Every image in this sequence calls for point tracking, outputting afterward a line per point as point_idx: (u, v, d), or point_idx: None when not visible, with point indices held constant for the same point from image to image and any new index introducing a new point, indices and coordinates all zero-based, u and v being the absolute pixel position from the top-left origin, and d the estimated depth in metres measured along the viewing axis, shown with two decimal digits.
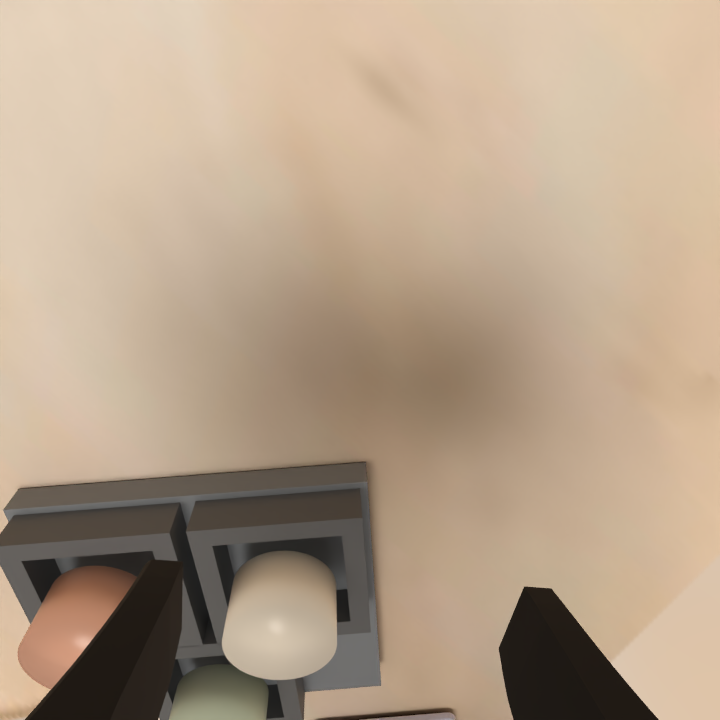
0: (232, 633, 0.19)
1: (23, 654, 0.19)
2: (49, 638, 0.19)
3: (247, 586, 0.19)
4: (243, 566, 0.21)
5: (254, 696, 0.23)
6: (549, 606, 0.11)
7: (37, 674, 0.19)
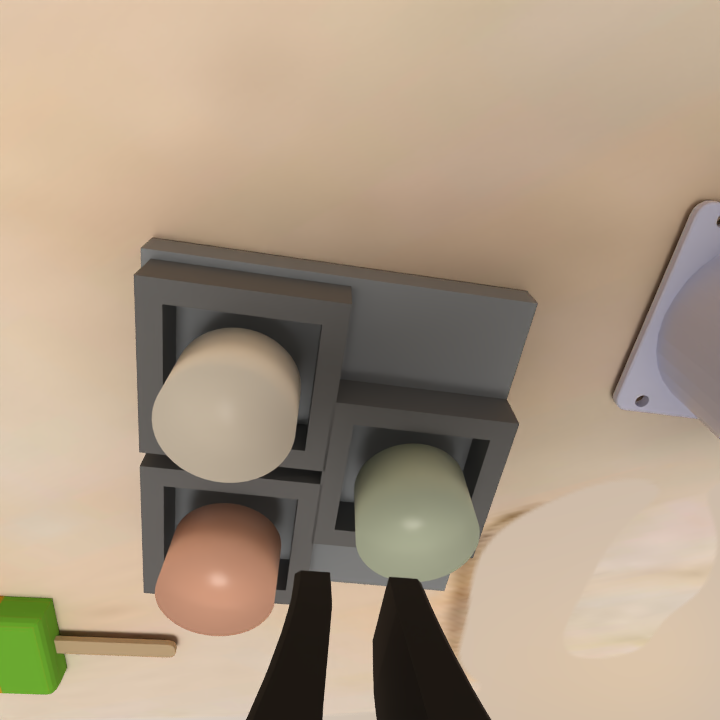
0: (194, 466, 0.16)
1: (196, 629, 0.19)
2: (176, 606, 0.19)
3: None
4: None
5: (390, 465, 0.18)
6: (407, 596, 0.11)
7: (228, 629, 0.19)
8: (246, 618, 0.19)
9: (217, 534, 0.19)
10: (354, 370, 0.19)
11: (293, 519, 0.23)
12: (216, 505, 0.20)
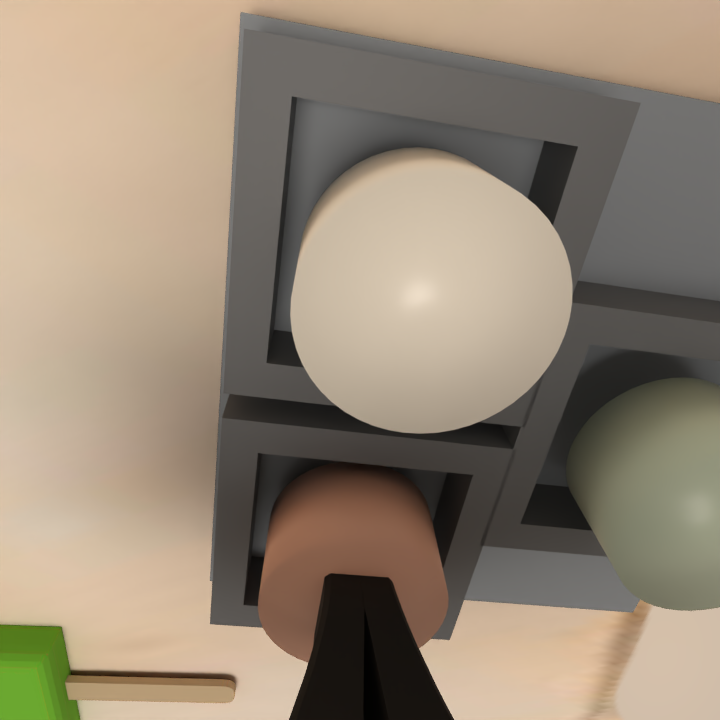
0: (360, 401, 0.08)
1: None
2: (289, 623, 0.12)
3: None
4: None
5: (663, 411, 0.11)
6: (376, 594, 0.11)
7: None
8: None
9: (359, 507, 0.11)
10: None
11: (434, 509, 0.15)
12: (342, 464, 0.13)
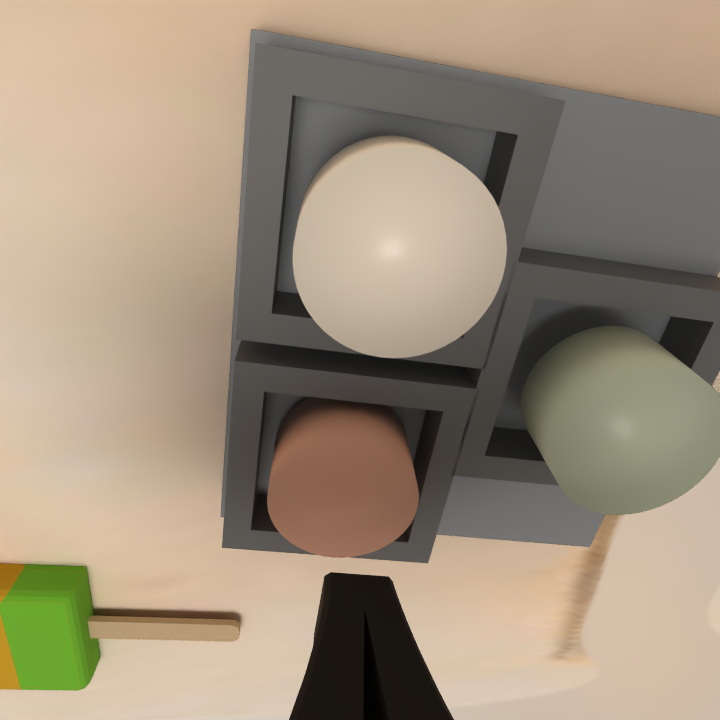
0: (346, 331, 0.11)
1: (313, 548, 0.15)
2: (291, 515, 0.15)
3: None
4: None
5: (593, 349, 0.13)
6: (376, 594, 0.11)
7: (353, 548, 0.15)
8: (378, 532, 0.15)
9: (347, 421, 0.14)
10: None
11: (414, 450, 0.17)
12: None
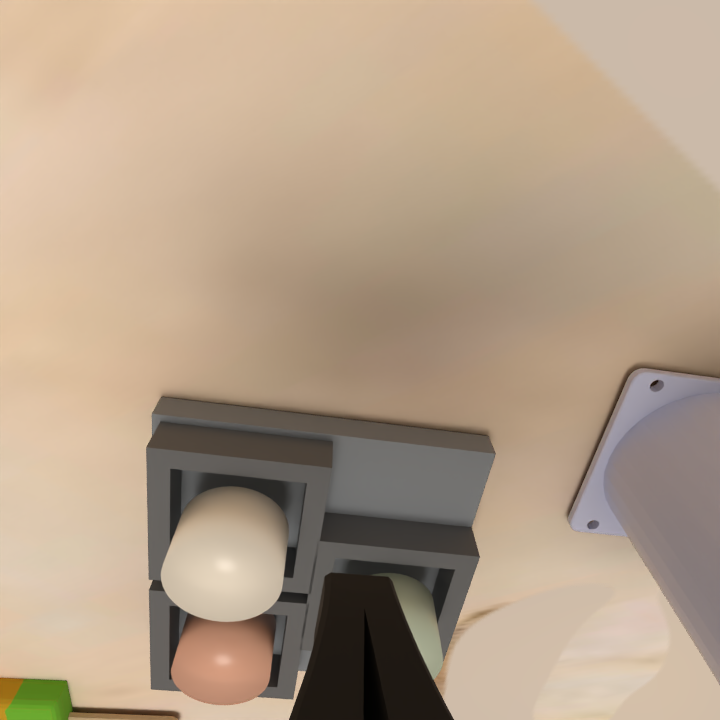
0: (196, 610, 0.19)
1: (205, 699, 0.23)
2: (188, 682, 0.23)
3: None
4: None
5: None
6: (376, 594, 0.11)
7: (231, 699, 0.23)
8: (246, 691, 0.23)
9: (223, 624, 0.22)
10: (337, 505, 0.22)
11: (284, 622, 0.25)
12: None
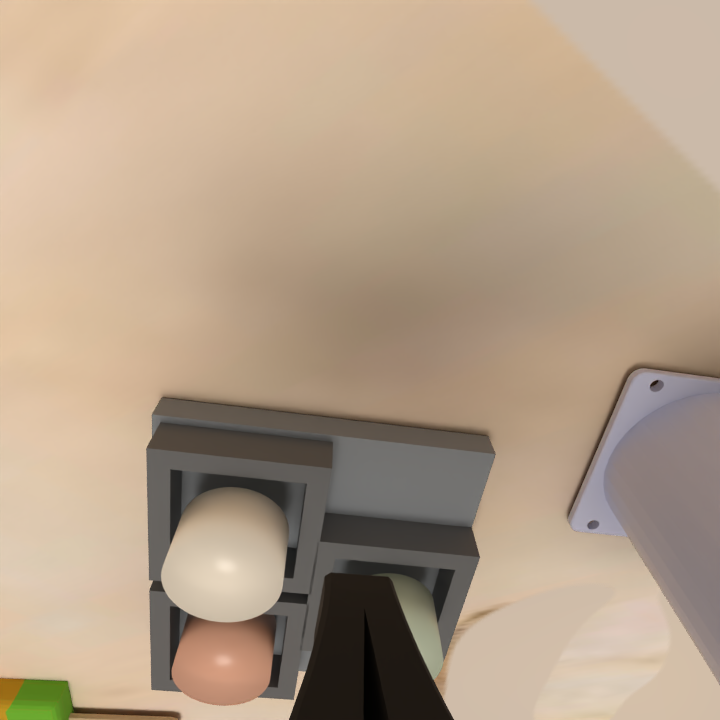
0: (197, 610, 0.19)
1: (205, 700, 0.23)
2: (188, 682, 0.23)
3: None
4: None
5: None
6: (376, 594, 0.11)
7: (232, 700, 0.23)
8: (246, 692, 0.23)
9: (223, 624, 0.22)
10: (337, 505, 0.22)
11: (284, 622, 0.25)
12: None
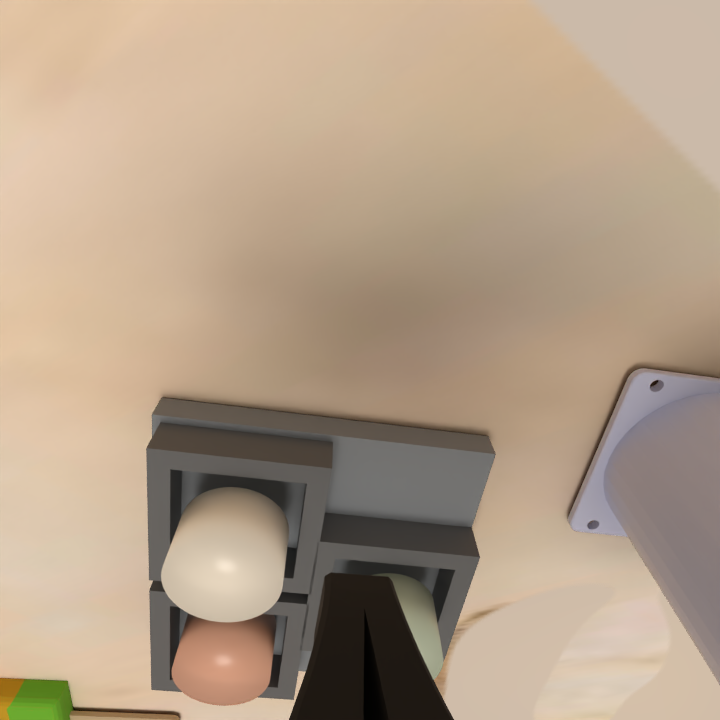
0: (197, 610, 0.19)
1: (205, 700, 0.23)
2: (188, 682, 0.23)
3: None
4: None
5: None
6: (376, 594, 0.11)
7: (232, 700, 0.23)
8: (246, 692, 0.23)
9: (223, 624, 0.22)
10: (337, 505, 0.22)
11: (284, 622, 0.25)
12: None
